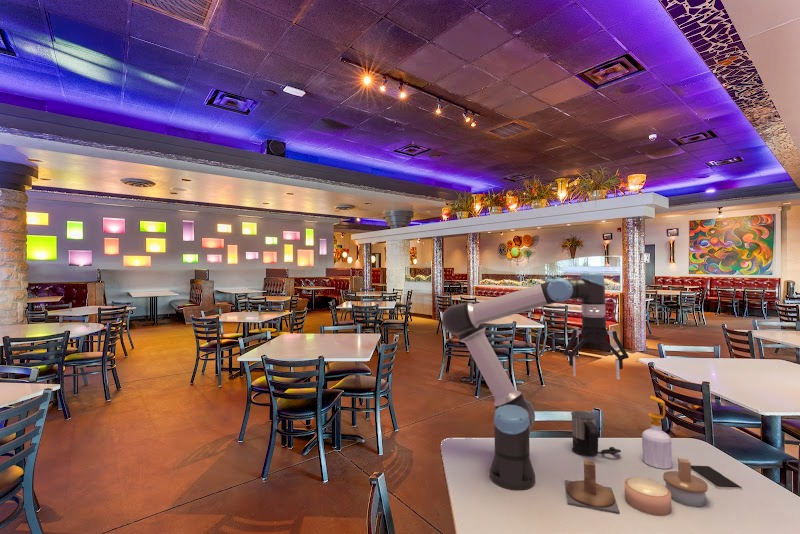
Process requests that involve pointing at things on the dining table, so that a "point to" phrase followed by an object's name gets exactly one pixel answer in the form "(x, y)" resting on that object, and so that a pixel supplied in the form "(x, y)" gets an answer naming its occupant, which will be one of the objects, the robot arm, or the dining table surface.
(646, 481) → the terracotta bowl
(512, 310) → the robot arm
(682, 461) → the slate bowl covered
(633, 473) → the dining table surface
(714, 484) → the smartphone
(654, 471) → the dining table surface
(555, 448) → the dining table surface
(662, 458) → the soap bottle
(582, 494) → the walnut lid
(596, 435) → the milk frother
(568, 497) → the rubber mat
